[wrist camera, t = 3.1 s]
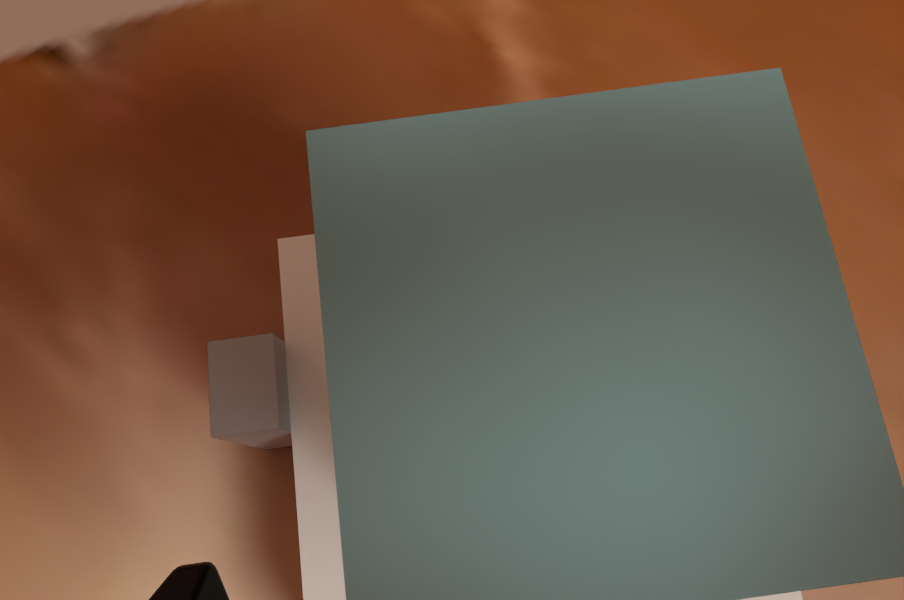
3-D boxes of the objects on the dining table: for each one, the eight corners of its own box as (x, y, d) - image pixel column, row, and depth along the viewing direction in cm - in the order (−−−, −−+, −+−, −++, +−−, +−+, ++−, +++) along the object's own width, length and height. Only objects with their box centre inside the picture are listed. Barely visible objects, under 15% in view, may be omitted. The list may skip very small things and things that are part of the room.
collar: (755, 617, 17) (838, 653, 13) (280, 684, 17) (223, 739, 13) (666, 228, 20) (713, 162, 16) (255, 283, 20) (202, 231, 16)
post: (630, 523, 18) (928, 572, 6) (430, 550, 18) (350, 653, 6) (593, 328, 19) (781, 67, 7) (407, 353, 19) (305, 131, 7)
